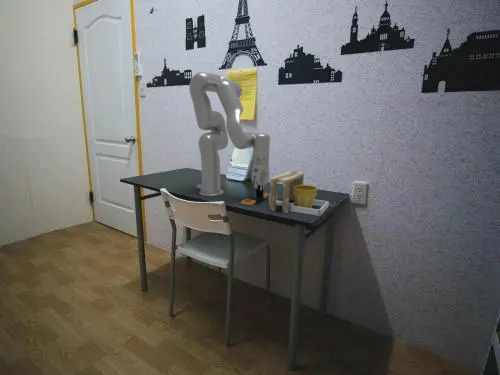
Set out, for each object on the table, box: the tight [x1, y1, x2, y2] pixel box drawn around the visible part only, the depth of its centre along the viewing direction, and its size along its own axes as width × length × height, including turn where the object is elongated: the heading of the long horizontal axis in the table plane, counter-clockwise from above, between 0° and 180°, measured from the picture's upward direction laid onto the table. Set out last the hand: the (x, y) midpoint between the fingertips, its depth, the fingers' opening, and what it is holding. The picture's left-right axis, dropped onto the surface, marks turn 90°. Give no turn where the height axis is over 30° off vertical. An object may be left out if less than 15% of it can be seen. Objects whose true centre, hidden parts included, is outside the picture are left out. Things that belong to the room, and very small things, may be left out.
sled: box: [268, 191, 330, 217], centre depth 135 cm, size 25×15×5 cm, turn 62°
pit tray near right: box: [240, 198, 257, 207], centre depth 140 cm, size 5×5×2 cm
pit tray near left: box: [254, 192, 269, 200], centre depth 152 cm, size 5×5×2 cm
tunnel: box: [269, 170, 305, 214], centre depth 137 cm, size 8×21×14 cm, turn 152°
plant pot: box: [293, 184, 318, 209], centre depth 133 cm, size 10×10×10 cm
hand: (259, 197), depth 144 cm, fingers closed
